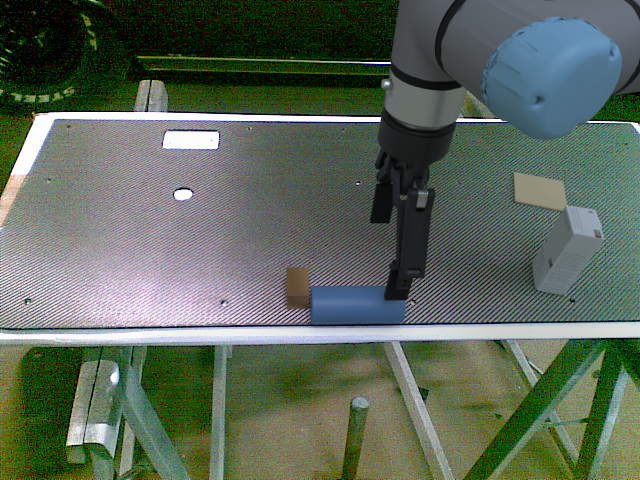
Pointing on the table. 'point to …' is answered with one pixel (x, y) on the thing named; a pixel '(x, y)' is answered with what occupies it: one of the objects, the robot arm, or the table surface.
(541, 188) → the mat
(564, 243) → the cosmetic box
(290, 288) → the brown rectangular block
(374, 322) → the tube
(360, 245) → the table surface
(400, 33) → the robot arm
